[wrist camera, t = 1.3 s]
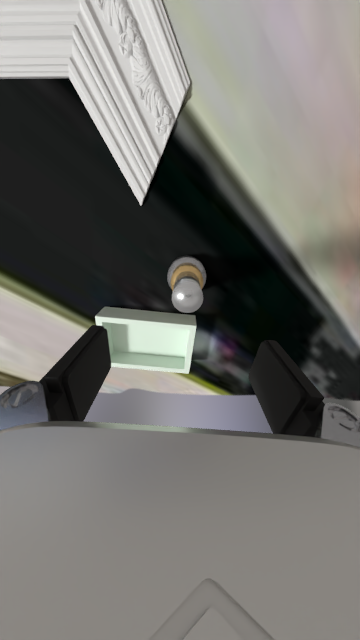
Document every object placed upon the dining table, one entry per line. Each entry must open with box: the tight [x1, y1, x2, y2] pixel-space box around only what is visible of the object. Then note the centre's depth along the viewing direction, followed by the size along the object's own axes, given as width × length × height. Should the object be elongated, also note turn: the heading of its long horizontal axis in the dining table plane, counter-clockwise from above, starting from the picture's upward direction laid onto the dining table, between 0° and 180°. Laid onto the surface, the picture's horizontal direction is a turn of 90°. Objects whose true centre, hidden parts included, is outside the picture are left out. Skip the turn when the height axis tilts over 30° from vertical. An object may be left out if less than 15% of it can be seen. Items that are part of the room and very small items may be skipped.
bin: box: [95, 307, 197, 374], centre depth 33 cm, size 17×11×4 cm, turn 85°
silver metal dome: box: [167, 255, 206, 289], centre depth 28 cm, size 6×6×2 cm
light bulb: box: [171, 263, 203, 313], centre depth 23 cm, size 5×5×9 cm
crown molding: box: [0, 0, 190, 206], centre depth 17 cm, size 24×1×20 cm
